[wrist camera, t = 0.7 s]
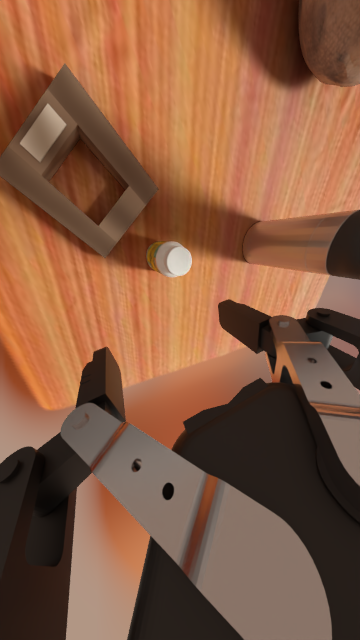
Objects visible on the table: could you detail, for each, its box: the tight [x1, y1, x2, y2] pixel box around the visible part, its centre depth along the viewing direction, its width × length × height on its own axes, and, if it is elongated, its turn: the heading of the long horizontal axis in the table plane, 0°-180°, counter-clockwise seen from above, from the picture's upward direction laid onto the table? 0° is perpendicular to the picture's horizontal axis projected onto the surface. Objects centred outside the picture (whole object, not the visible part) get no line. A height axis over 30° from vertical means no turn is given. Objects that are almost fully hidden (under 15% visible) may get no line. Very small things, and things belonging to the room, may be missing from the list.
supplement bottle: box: [146, 241, 192, 277], centre depth 26 cm, size 5×5×10 cm
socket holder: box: [0, 64, 158, 258], centre depth 21 cm, size 13×13×3 cm
